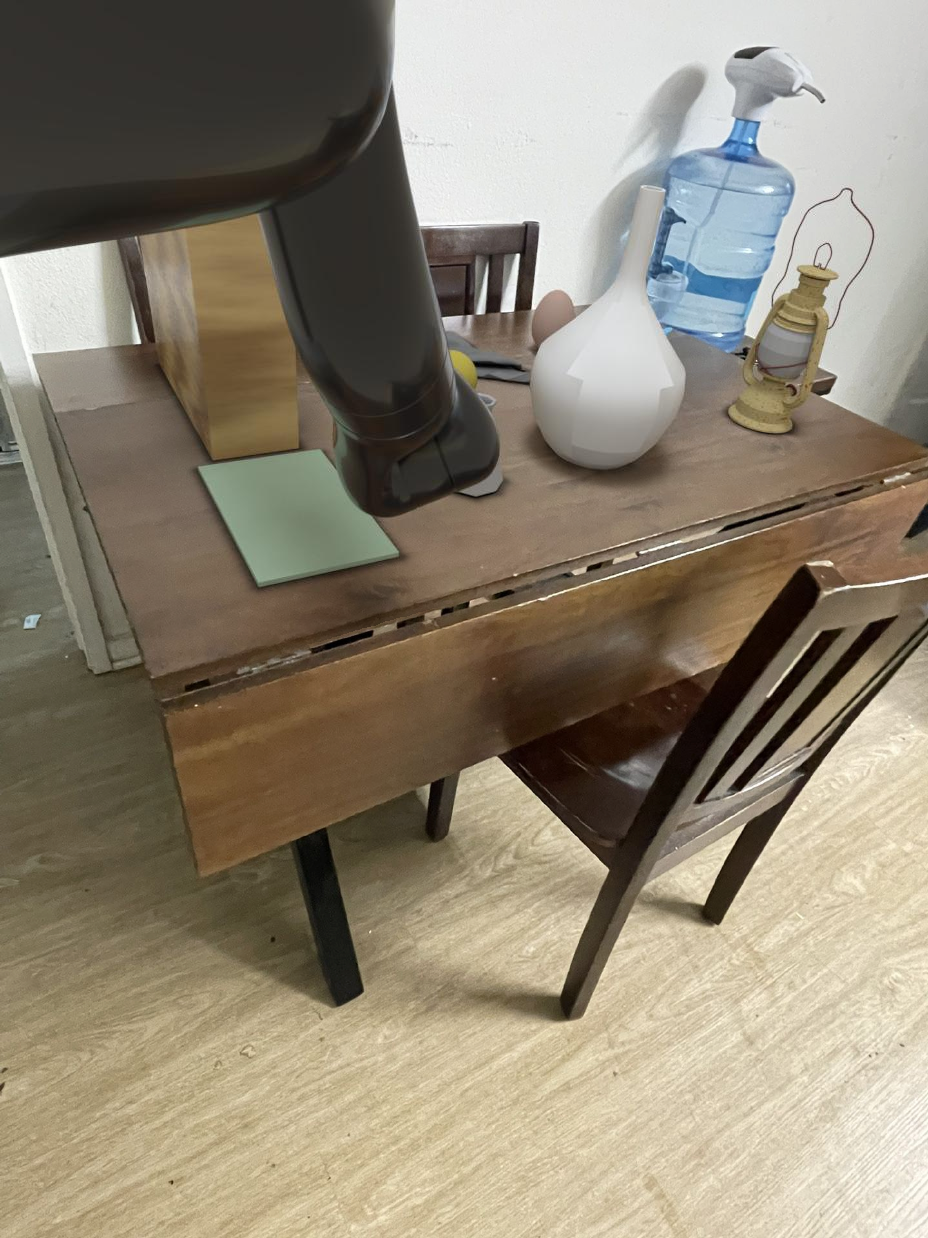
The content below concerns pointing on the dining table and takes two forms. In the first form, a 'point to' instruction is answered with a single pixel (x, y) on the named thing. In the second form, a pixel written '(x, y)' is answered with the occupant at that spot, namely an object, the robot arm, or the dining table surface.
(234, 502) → the mat
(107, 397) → the dining table surface
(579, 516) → the dining table surface
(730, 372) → the dining table surface
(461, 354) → the light bulb
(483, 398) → the flask
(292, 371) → the stand
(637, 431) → the vase
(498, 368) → the cloth
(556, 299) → the egg
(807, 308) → the lantern
